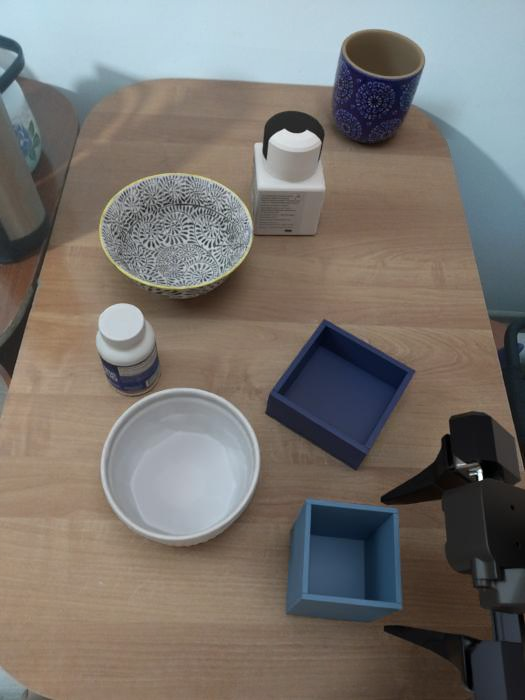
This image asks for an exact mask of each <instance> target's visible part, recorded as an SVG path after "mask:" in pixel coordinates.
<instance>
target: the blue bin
mask: <svg viewBox="0 0 525 700" xmlns="http://www.w3.org/2000/svg"><path fill="white" fill-rule="evenodd" d="M399 517H400V515H399V508H397V507H389V506H379V505H370V504H361V503H350V502H341V501H332V500H325V499H324V500H323V499H314V498H306V499H305V501H304V503H303V505H302V507H301V509H300V511H299V513H298V514H297V517H296V519H295V521H294V523H293V524H292V526H291V529H290V534H289V549H288V550H289V551H288V567H287V568H288V569H287V586H286V602H285V615H289V616H296V617H297V616H298V617H307V618H315V619H317V618H318V619H325V620H334V621H335V620H336V621H344V622H345V621H346V622H355V623H366V624H368V623H372V622H374V621H376V620H379V619H381V618H384V617H387V616H389V615H392V614H394V613H397V612H399V611H402V610H403V593H402V591H403V590H402V567H401V566H402V565H401V542H400V540H401V539H400V538H401V537H400V518H399Z"/></svg>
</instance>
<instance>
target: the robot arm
mask: <svg viewBox="0 0 525 700" xmlns="http://www.w3.org/2000/svg"><path fill="white" fill-rule="evenodd" d="M448 428H449V433H445V434H444V435H443V436H442V437H441V439H440V450H439V451H438V453H437V455H436V457H435V459H434V460H433V462H432V463H430V464H429V465H428V466H426V467H425V468H424V469H423V470H421V471H420V472H419V473H417V474H415V475H413V476H412V477H411V478H409V479H408V480H406V481H404V482H403V483H401V484H399V485H397V486H396V487H394V488H393V489H391V490H389V491H387V492H386V493H384V494H383V495H381V496H380V503H382V504H384V505H385V506H407V505H414V504H421V503H427V502H436V501H440V506H441V511H442V512H443V514H444V523H445V536H446V541H445V543H444V555H445V559H446V561H447V563H448V565H449V567H450V568H451V569H452V570H453V571H454V572H456V573H458V574H462V575H469V576H471V583H472V588H473V589H477V592H478V600H479V607H480V608H481V609H482V610H486V611H489V612H490V621H491V627H492V628H491V629H492V640H490V639H488V640H487V639H481V638H477V637H473V636H470V635H466V634H464V633H452V632H444V631H439V630H433V629H427V628H421V627H415V626H409V625H403V624H384V625H383V626H382V629H383V632H384V633H386V634H389V635H391V636H394V637H397V638H398V639H401V640H403V641H406V642H408V643H411V644H413V645H416V646H418V647H421V648H423V649H426V650H428V651H429V652H432V653H434V654H436V655H437V656H439V657H440V658H443V660H445V661H447V662H449V663H450V664H451V665H453V666H454V667H455V668H456V669H457V670H458V671H459V673H460V674H459V675H460V682H461V684H462V687H463V688H464V690H465V691H467V692H473V699H474V700H525V488H522V487H519V486H516V485H517V484H519V483H520V482H521V481H522V476H521V469H520V465H519V459H518V457H519V456H518V451H517V445H516V440H515V436H513V435H512V434H511V433H510V432H509V431H508V430H507V429H506V428H504V426H502V425H501V424H500V423H499V422H498V421H497V420H496V419H495V418H494V417H493V416H491V415H489V414H488V413H486V412H484V411H475V410H471V411H467V412H462V413H458V414H457V413H456V414H453V415H450V417H449V419H448Z"/></svg>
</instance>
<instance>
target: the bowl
mask: <svg viewBox="0 0 525 700" xmlns="http://www.w3.org/2000/svg"><path fill="white" fill-rule="evenodd" d="M98 232H99V240H100V244H101V247H102V249H103V252H104V254H105V255H106V257H107V258H108V259H109V261H110V263H112V264H113V265H114V266H115V268H117V269H118V270H119V271H120V272H121V273H122V274H124V275H125V276H126V277H128V279H129V280H130V281H132V282H133V283H134V284H135V285H136V286H138V287H139V288H141V289H142V290H144V291H146V292H148V293H150V294H153V295H155V296H158V297H162V298H167V299H173V300H174V299H175V300H176V299H177V300H178V299H179V300H180V299H183V300H184V299H189V298H191V299H192V298H195V297H199V296H202V295H205V294H207V293H209V292H211V291H213V290H215V289H216V288H218V286H220V285H222V284H223V283H224V282H225V281H226V280H227V279H228V278H230V276H231V275H232V273H233V272H234V271H235V270H237V268H239V266H241V264H242V263H243V262H244V261H245V259H246V257H247V256H248V254H249V252H250V249H251V247H252V245H253V241H254V235H255V234H254V228H253V217H252V215H251V213H250V210H249V209H248V207H247V206H246V204H245V203H244V201H243V200H242V199H241V197H239V196H238V195H237V194H236V193H235V192H234V191H233V190H232V189H230V188H228V187H227V186H225V185H224V184H222V183H220V182H218V181H216V180H213V179H211V178H208V177H205V176H202V175H198V174H194V173H193V174H192V173H184V172H167V173H160V174H154V175H150V176H146V177H143V178H140V179H138V180H136V181H133V182H131V183H129V184H128V185H126V186H125V187H123V188H122V189H120V190H119V191H118V192H117V193H116V194H114V195H113V197H112V198H111V199H110V200H109V201H108V203H107V204H106V206H105V208H104V210H103V211H102V214H101V216H100V220H99V228H98Z"/></svg>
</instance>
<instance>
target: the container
mask: <svg viewBox="0 0 525 700" xmlns="http://www.w3.org/2000/svg"><path fill="white" fill-rule="evenodd" d="M263 128H264V129H263V138H262V142H255V143H254V146H253V158H252V168H251V169H252V170H251V183H250V198H251V199H250V200H251V212H252V213H251V214H252V215H251V216H252V222H253V228H254V235H263V236H265V235H266V236H267V235H271V236H273V235H274V236H275V235H276V236H314V235H316V234H317V230H318V225H319V222H320V217H321V212H322V208H323V203H324V199H325V196H326V190H327V188H326V187H327V186H326V181H325V180H326V179H325V176H324V175H325V173H324V168H323V161H322V150H323V146H324V140H325V130H324V128H323V125H322V124H321V122H320V121H318V119H316V118H315V117H314V116H313V115H311V114H308V113H306V112H302V111H299V110H284V111H280V112H278V113H276V114H274V115H272V116H271V117H270V118H268V120H267V121H266V122H265V124H264V127H263Z"/></svg>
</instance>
